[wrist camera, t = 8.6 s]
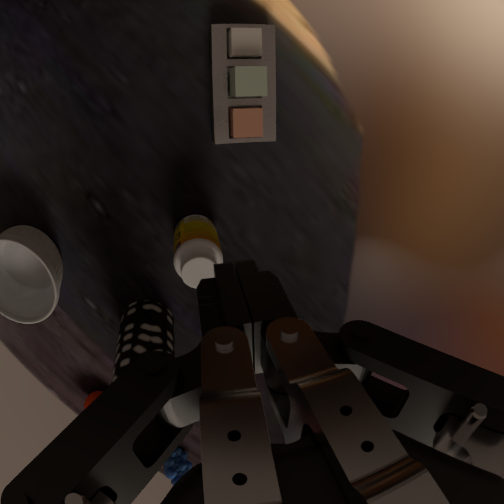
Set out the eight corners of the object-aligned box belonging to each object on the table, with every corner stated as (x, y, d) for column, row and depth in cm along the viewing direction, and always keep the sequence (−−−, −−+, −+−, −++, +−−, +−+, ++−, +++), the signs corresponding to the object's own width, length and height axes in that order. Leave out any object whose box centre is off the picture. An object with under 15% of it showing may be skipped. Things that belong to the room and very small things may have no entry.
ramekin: (73, 226, 38) (57, 250, 32) (69, 303, 44) (58, 333, 38) (-6, 209, 34) (-30, 230, 28) (-1, 286, 39) (-18, 312, 33)
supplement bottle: (174, 212, 41) (172, 250, 32) (217, 213, 42) (227, 249, 33) (174, 251, 43) (174, 295, 34) (214, 251, 44) (224, 294, 36)
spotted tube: (155, 291, 45) (151, 405, 28) (183, 328, 50) (193, 438, 33) (111, 313, 46) (92, 423, 28) (141, 347, 50) (137, 453, 33)
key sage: (230, 96, 33) (235, 96, 29) (229, 68, 31) (234, 66, 28) (258, 95, 33) (267, 96, 30) (258, 68, 32) (266, 66, 28)
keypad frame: (212, 140, 37) (214, 144, 35) (209, 29, 30) (211, 24, 28) (269, 137, 38) (275, 141, 36) (268, 29, 32) (275, 25, 29)
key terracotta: (228, 133, 37) (233, 138, 33) (227, 107, 35) (232, 109, 32) (255, 132, 37) (262, 136, 34) (254, 106, 36) (262, 108, 32)
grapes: (148, 441, 64) (149, 484, 54) (171, 434, 64) (175, 479, 54) (174, 458, 70) (178, 496, 60) (196, 452, 70) (202, 492, 60)
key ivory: (226, 58, 32) (231, 55, 29) (226, 33, 31) (231, 27, 27) (254, 58, 33) (262, 55, 29) (253, 34, 31) (261, 28, 28)
